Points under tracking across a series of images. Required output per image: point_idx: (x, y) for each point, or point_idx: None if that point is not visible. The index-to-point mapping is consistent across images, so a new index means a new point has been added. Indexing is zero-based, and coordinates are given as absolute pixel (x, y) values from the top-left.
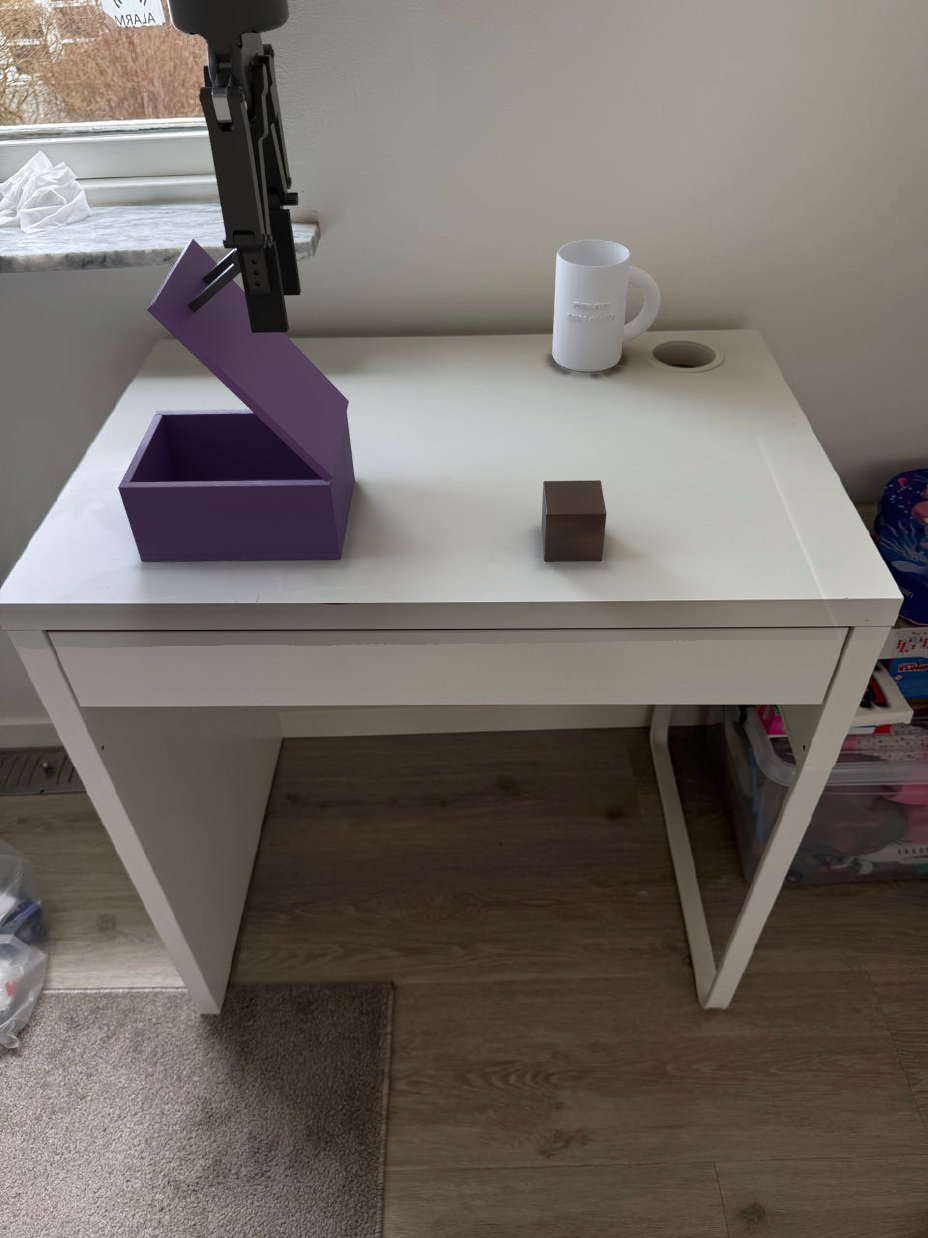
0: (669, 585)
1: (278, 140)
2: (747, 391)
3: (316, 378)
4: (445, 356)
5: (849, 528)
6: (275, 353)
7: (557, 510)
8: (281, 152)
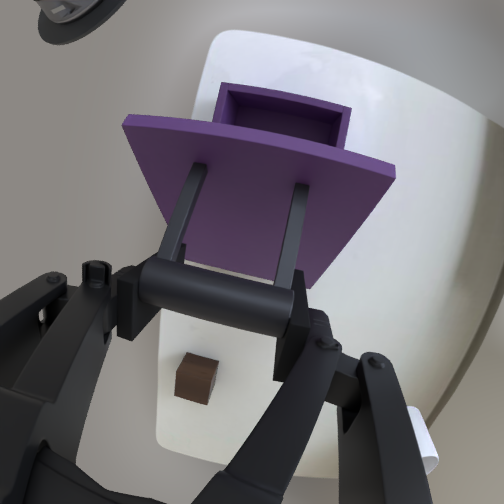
0: (163, 392)
1: (342, 470)
2: (322, 469)
3: None
4: (445, 346)
5: (197, 456)
6: (278, 247)
7: (179, 377)
8: (340, 451)
